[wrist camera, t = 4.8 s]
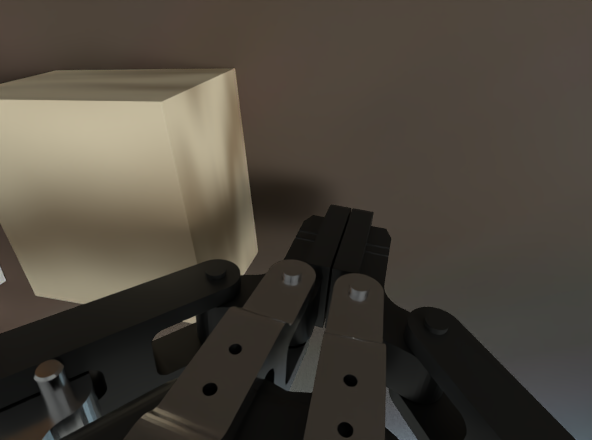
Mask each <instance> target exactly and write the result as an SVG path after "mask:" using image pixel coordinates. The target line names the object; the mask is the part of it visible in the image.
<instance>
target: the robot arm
mask: <svg viewBox="0 0 592 440" xmlns="http://www.w3.org/2000/svg"><path fill="white" fill-rule="evenodd" d="M372 219H373V212H370V211H365V210H359V209H354V208H353V209H352V212H351V208H348V207H342V206H337V205H332V204H331V205H330V207H329V209H328V211H327V213H326V216H325V217H320V216H315V215H313V216H311V217H310V218H308V219H307V220H305V221H304V222H303V224H302V226H301V228H300V230H299V232H298V234H297V236H296V238H295V239H294V241H293V243H292V245H291V247H290V249H289V251H288V253H287V255H286V257H285V259H284V260H282V261H279V262H277V263H275V264H273V265H272V266H271V267H270V268H269V270H268V271H267V273H266V274H262V275H240V269H239V267H238V266H237V265H236V264H234V263H233V262H231V261H228V260H223V259H213V260H208V261H205V262H202V263H199V264H196V265H193V266H191V267H188V268H185V269H182V270H179V271H176V272H174V273H171V274H168V275H165V276H162V277H159V278H157V279H154V280H151V281H148V282H145V283H142V284H140V285H137V286H134V287H131V288H128V289H125V290H123V291H120V292H117V293H114V294H111V295H108V296H106V297H103V298H100V299H97V300H94V301H91V302H89V303H86V304H83V305H80V306H77V307H75V308H72V309H69V310H66V311H63V312H60V313H58V314H55V315H52V316H49V317H46V318H43V319H41V320H38V321H35V322H32V323H29V324H26V325H24V326H21V327H18V328H15V329H12V330H9V331H7V332H4V333H1V334H0V440H399V439H398V438H397V437H396V436H395V435H394V434H392V433H391V432H390V431H389V430H388V429H387V428H385V398H386V387H388V388H389V394H390V397H391V399H392V401H393V403H394V404H395V406H396V407H397V409H398V411H399V412H400V414H401V415H402V417H403V418H404V420H405V421H406V423H407V424H408V426H409V427H410V429H411V430H412V432H413V433H414V435H415V436H416V438H417V439H418V440H575V438H574V437H573V436H572V435H571V434H570V433H569V432H568V431H567V430H566V429H565V428H564V427H563V426H562V425H561V424H560V423H559V422H558V421H557V420H556V419H555V418H554V417H553V416H552V415H551V414H550V413H549V412H548V411H547V410H546V409H545V408H544V407H543V406H542V405H541V404H540V403H539V402H538V401H537V400H536V399H535V398H534V397H533V396H532V395H531V394H530V393H529V392H528V391H527V390H526V389H525V388H524V387H523V386H522V385H521V384H520V383H519V382H518V381H517V380H516V379H515V378H514V377H513V376H512V375H511V374H510V373H509V372H508V371H507V370H506V369H505V368H504V367H503V365H502V364H501V363H500V362H499V361H498V360H497V359H496V358H495V357H494V356H493V355H492V354H491V353H490V352H489V351H488V350H487V349H486V348H485V347H484V346H483V345H482V344H481V343H480V342H479V341H478V340H477V339H476V338H475V337H474V336H473V335H472V334H471V333H470V332H469V331H468V330H467V329H466V328H465V327H464V326H463V325H462V324H461V323H460V322H459V321H458V320H457V319H456V318H455V317H454V316H452V315H451V314H449V313H448V312H446V311H443V310H441V309H438V308H433V307H421V308H417V309H415V310H413V311H412V312H411V313H410V312H408V311H406V310H404V309H402V308H400V307H398V306H397V305H396V304H394V303H393V302H392V301H391V300H390V299H389V298H388V297H387V295H386V293H385V290H384V283H385V276H386V269H387V263H388V256H389V249H390V242H391V237H390V235H389V234H388V232H387V230H386V229H384V228H378V227H373V226H371V224H372ZM194 316H196V323H193V324H191V325H189V326H186V327H184V328H182V329H180V330H177V331H175V332H173V333H170V334H168V335H166V336H163V337H161V338H159V339H156V340H154V341H152V340H153V338H154V336H155V335H156V334H157V333H158V332H160V331H161V330H163V329H165V328H168V327H170V326H173V325H175V324H177V323H180V322H182V321H184V320H187V319H189V318H191V317H194ZM325 319H326V323H325V328H326V330H325V332H324V335H323V340H322V346H321V351H320V356H319V361H318V366H317V371H316V377H315V382H314V387H313V392H312V393H304V392H290V391H289V390H290V387H291V385H292V383H293V380H294V378H295V376H296V374H297V371H298V369H299V367H300V364H301V362H302V360H303V358H304V355H305V353H306V351H307V348H308V346H309V339H310V337H311V335H312V332H313V329H314V326H318V327H322V328H323V325H324V322H325Z"/></svg>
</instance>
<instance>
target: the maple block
mask: <svg viewBox="0 0 592 440" xmlns="http://www.w3.org/2000/svg"><path fill="white" fill-rule="evenodd" d="M0 223H1V225H2V227H3V230H4V232H5V234H6V236H7V238H8V240H9V242H10V244H11V246H12V248H13V250H14V252H15V254H16V256H17V258H18V260H19V262H20V264H21V266H22V268H23V270H24V272H25V274H26V277H27V279H28V281H29V283H30V285H31V287H32V289H33V291H34V293H35V295H36V296H41V297H47V298H52V299H58V300H64V301H69V302H75V303H81V304H86V303H89V302H91V301H94V300H97V299H100V298H103V297H106V296H108V295H111V294H114V293H117V292H120V291H123V290H125V289H128V288H131V287H134V286H137V285H140V284H142V283H145V282H148V281H151V280H154V279H157V278H159V277H162V276H165V275H168V274H171V273H174V272H176V271H179V270H182V269H185V268H188V267H191V266H193V265H196V264H199V263H202V262H205V261H208V260H213V259H223V260H228V261H231V262H233V263H234V264H236V265H237V266H238V267H239V269H240V275H244V274H245V272H246V270H247V269H248V267H249V266H250V264H251V263H252V261H253V259H254V258H255V256H256V255H257V253H258V247H257V239H256V231H255V223H254V216H253V208H252V200H251V192H250V184H249V176H248V168H247V160H246V152H245V144H244V137H243V129H242V121H241V113H240V105H239V97H238V89H237V81H236V73H235V68H217V69H129V70H55V71H51V72H47V73H43V74H39V75H35V76H31V77H27V78H23V79H19V80H14V81H10V82H6V83H2V84H0ZM182 322H188V323H196V316H194V317H191V318H189V319H187V320H184V321H182Z"/></svg>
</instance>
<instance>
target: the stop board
mask: <svg viewBox="0 0 592 440" xmlns="http://www.w3.org/2000/svg"><path fill="white" fill-rule="evenodd" d="M5 281H6V279H5V277H4V275H3V272H2V270H1V267H0V285H1V284H2V283H3V282H5Z"/></svg>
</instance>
